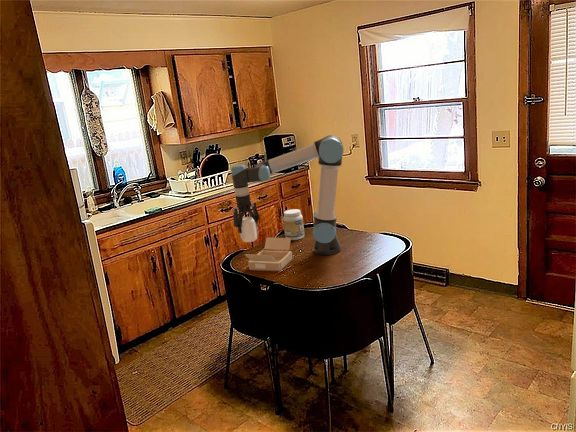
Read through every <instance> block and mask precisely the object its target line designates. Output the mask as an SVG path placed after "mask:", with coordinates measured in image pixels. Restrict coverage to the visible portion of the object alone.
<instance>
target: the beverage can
mask: <svg viewBox="0 0 576 432" xmlns="http://www.w3.org/2000/svg"><path fill="white" fill-rule="evenodd" d="M241 227H243V232H244V238H245V239H242V238H241V241H242V242H244V243H253V242H254V241H256V240H257V239H258V234H256V228H255V222H254V219H253V217H250V216H245V217H243V219H242V225H241Z"/></svg>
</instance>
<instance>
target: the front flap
mask: <svg viewBox="0 0 576 432" xmlns="http://www.w3.org/2000/svg"><path fill="white" fill-rule="evenodd" d="M244 255H245V257H246V258H247V259H248V261H249V260H250V261H266V262H276V260H275V259H274V258H273V257H272V255H257V254H252V253H251V254H250V253H245V254H244Z"/></svg>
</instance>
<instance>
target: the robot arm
mask: <svg viewBox="0 0 576 432" xmlns="http://www.w3.org/2000/svg"><path fill="white" fill-rule="evenodd" d="M343 154H344V145H343V142H342V140H341V138H340V137H338V136H336V135H332V134H331V135H327V136H323V138H320V139H318V140H316V141H313V143H312V144H310V145H307V146H305V147H302V148H298V149H295V150H293V151H290V152H287V153H285V154H284V153H283V154H281V155H279V156H276V157H274V158H271V159H270V158H269V159H268V160H265V161H264V160H263V161H260V162H258V163H257V164H256V165H255V166H254V167H246V164H236V165H233V166H232V167H231V170H230V171H231V178H232V184H233V191H234V195H235V203H236V207H232V213H233V227H235V228H237V232H238V234H239V236H240V239H241V240H242V239H245V238H244V232H243V227H241V225H242V219H243V218H244V215H245V213H246V212H247V213H248V215H249V217H253V219H254V222H255V228H256V234H257V235H258V234H259V233H258V222H259V221H260V219H261V218H260V214H259V212H258V208H257V202H254V201H252V202H251V195H250V189H249V183H250V184H251V183H258V182H267V181H270V180H271V175H272V174H274V173H278V172H281V171H283V170H287V169H290V168H292V167H295V166H298V165H301V164H304V163H306V162H307V163H308V162H310V161H313V160H315V159H318V162H317V163H318V165H319V166H320V177H319V187H318V188H319V190H318V202H317V210H316V211H314V212H313V216H312V217H313V228H312V235H313V238H314V239H315V241H314V245H313V252H314V253H315V254H316V255H320V256H329V255H334V254H337V253H339V252H340V251H342V246H341V243H340V241H339V239H338V237H337V236H338V235H337V215H336V214H335V206H336V198H337V197H336V194H337V184H338V176H339V175H338V174H339V168H340V167H342V163H343Z"/></svg>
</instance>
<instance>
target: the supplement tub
mask: <svg viewBox="0 0 576 432" xmlns="http://www.w3.org/2000/svg"><path fill="white" fill-rule="evenodd" d="M282 222H283V229H284V236H285V237H284V238H291V241H298V240H301V239H303V238H304V237H305V228H304V227H305V226H304V218H303V215H302V212H301V209H295V208H293V209H292V208H291V209H287V210H285V211H283V218H282Z"/></svg>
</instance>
